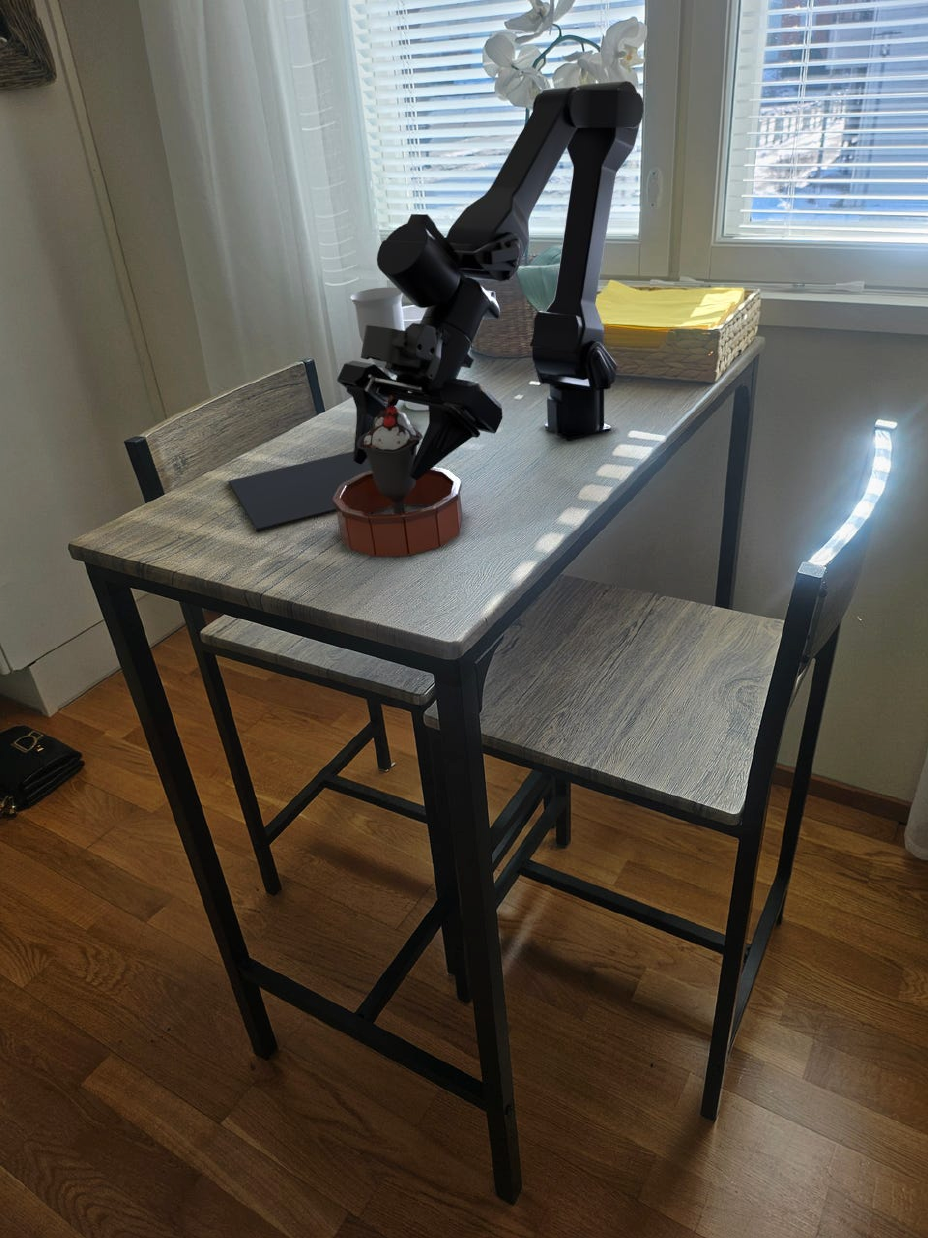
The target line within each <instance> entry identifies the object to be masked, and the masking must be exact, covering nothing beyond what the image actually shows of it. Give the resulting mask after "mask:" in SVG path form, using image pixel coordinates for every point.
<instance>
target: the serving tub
mask: <svg viewBox="0 0 928 1238" xmlns="http://www.w3.org/2000/svg"><path fill="white" fill-rule="evenodd" d="M462 487H463V486H462V480H461V479H460V478H459V477H457V476H456V475H455V474H454V473H452V472H451V471H450V470H448V469H446V468H440V467H436V466H434V467H433V468H432V469H430V470H429V471H428V472H427V473H426V474H425V475H423V476H422V477H421V478H420V479H419V480H415V486H414V488H413V489H412V490H411V492H410V493H409V494H408V495H407V496H406V497H405V498H404V506H421V505H425V506H426V507H422V508H418V509H414V510H411V511H406V513H400V514H394V513H374V514H372V513H373V512H377V511H381V510H385V509H389V508H393V501H392V500H391V499H390V498H388V497H386V496H384V495H383V494H382V493H380V492H379V491H378V488H377V485H376V483H375V480H374V477H373V473H372V471H369V472H365V473H362V474H359V475H357V476H355V477H354V478H352V479H350V480H348V481H346V482H345V483H343V484H341V485H340V486H339V488H338V489H337V491H336V493H335V495H334V497H333V505H334V506H335V508H336V511H337V512H336V516H337V521H338V527H339V528H338V529H339V533H340V538H341V539H342V541H343V542H344V543H345V544H346V546H347V547H348V548H349V549H350V550H351V551H354V552H358V553H362V554H365V555H368V556H371V557H379V558H380V557H383V558H384V557H408V556H413V555H417V554H420V553H424V552H427V551H432V550H435V549H439V548H440V547H442V546H444V545H445V544H447V543H448V542H449V541H451V540H453V538H456V537H457V536H458V535H459V534H460V533H461V528H462V526H463V525H462V524H463V520H464V518H463V507H462V498H461V497H462V496H461V491H462Z"/></svg>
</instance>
